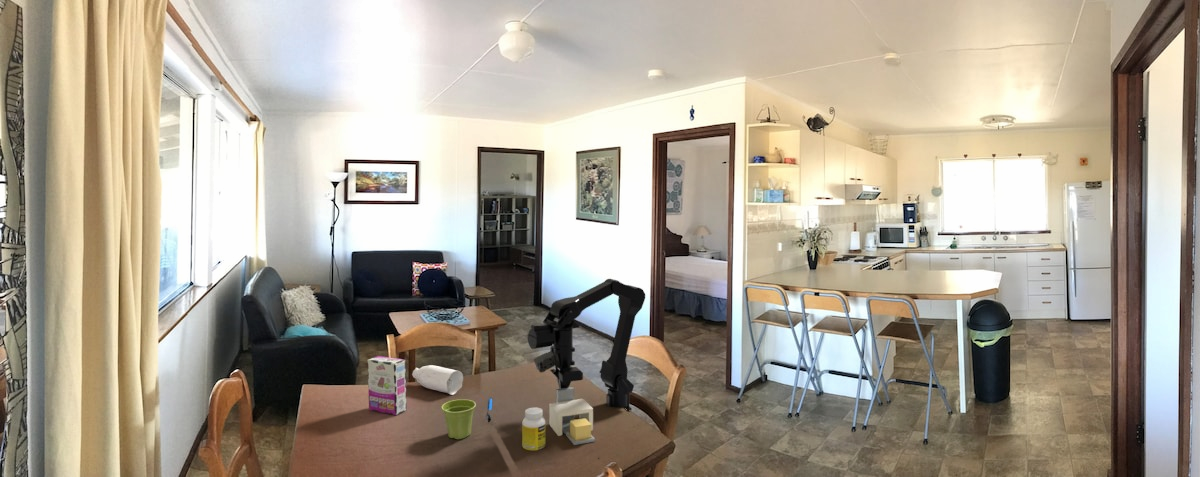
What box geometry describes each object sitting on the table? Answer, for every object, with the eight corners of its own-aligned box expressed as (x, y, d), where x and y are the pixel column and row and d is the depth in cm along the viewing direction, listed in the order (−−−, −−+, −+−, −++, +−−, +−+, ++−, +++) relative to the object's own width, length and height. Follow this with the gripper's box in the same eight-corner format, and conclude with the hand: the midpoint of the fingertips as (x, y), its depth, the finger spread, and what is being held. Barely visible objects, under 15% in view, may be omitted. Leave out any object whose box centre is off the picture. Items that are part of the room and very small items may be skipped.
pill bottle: (541, 457, 149) (541, 416, 148) (519, 454, 150) (518, 414, 149) (548, 446, 155) (548, 407, 154) (526, 444, 156) (526, 405, 155)
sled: (573, 420, 170) (574, 386, 169) (594, 444, 155) (595, 407, 154) (554, 423, 168) (554, 389, 167) (574, 448, 152) (574, 410, 151)
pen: (487, 423, 170) (487, 419, 170) (489, 399, 189) (489, 396, 189) (490, 422, 170) (490, 419, 170) (492, 399, 189) (492, 395, 189)
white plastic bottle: (425, 380, 206) (424, 359, 205) (464, 390, 196) (463, 367, 195) (407, 387, 199) (407, 365, 198) (447, 397, 189) (446, 374, 189)
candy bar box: (407, 410, 179) (406, 359, 177) (396, 416, 174) (395, 363, 173) (379, 404, 183) (378, 354, 181) (368, 410, 178) (366, 359, 177)
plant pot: (446, 445, 155) (445, 414, 154) (439, 431, 163) (438, 402, 163) (480, 438, 159) (479, 408, 159) (471, 425, 168) (470, 397, 167)
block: (585, 433, 159) (585, 418, 159) (591, 440, 155) (591, 424, 155) (570, 436, 158) (570, 420, 157) (575, 443, 154) (575, 427, 153)
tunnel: (574, 415, 176) (574, 390, 175) (592, 434, 162) (593, 408, 161) (542, 420, 172) (542, 395, 171) (558, 440, 158) (558, 413, 157)
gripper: (528, 338, 174) (528, 387, 175) (545, 355, 156) (545, 410, 158) (562, 334, 178) (562, 383, 179) (583, 351, 161) (583, 404, 162)
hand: (562, 394), depth 170 cm, fingers closed
